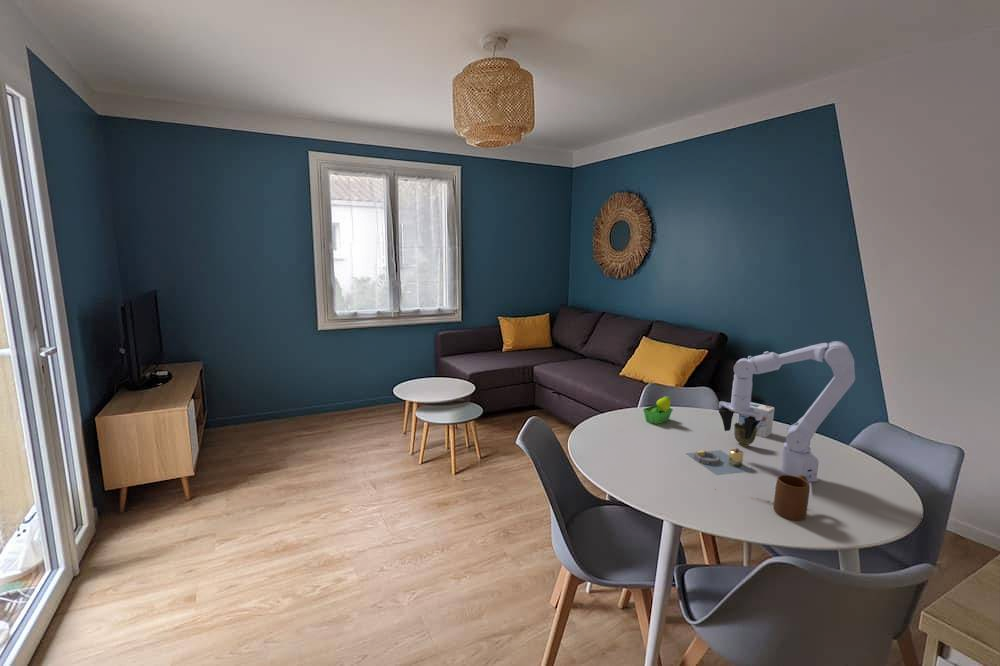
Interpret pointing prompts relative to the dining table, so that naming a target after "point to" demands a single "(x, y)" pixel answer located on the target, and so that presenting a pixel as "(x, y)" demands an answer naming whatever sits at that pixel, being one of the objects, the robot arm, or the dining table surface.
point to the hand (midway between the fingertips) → (737, 434)
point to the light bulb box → (766, 421)
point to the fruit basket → (659, 411)
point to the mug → (791, 497)
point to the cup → (743, 435)
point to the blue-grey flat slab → (717, 462)
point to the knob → (736, 458)
